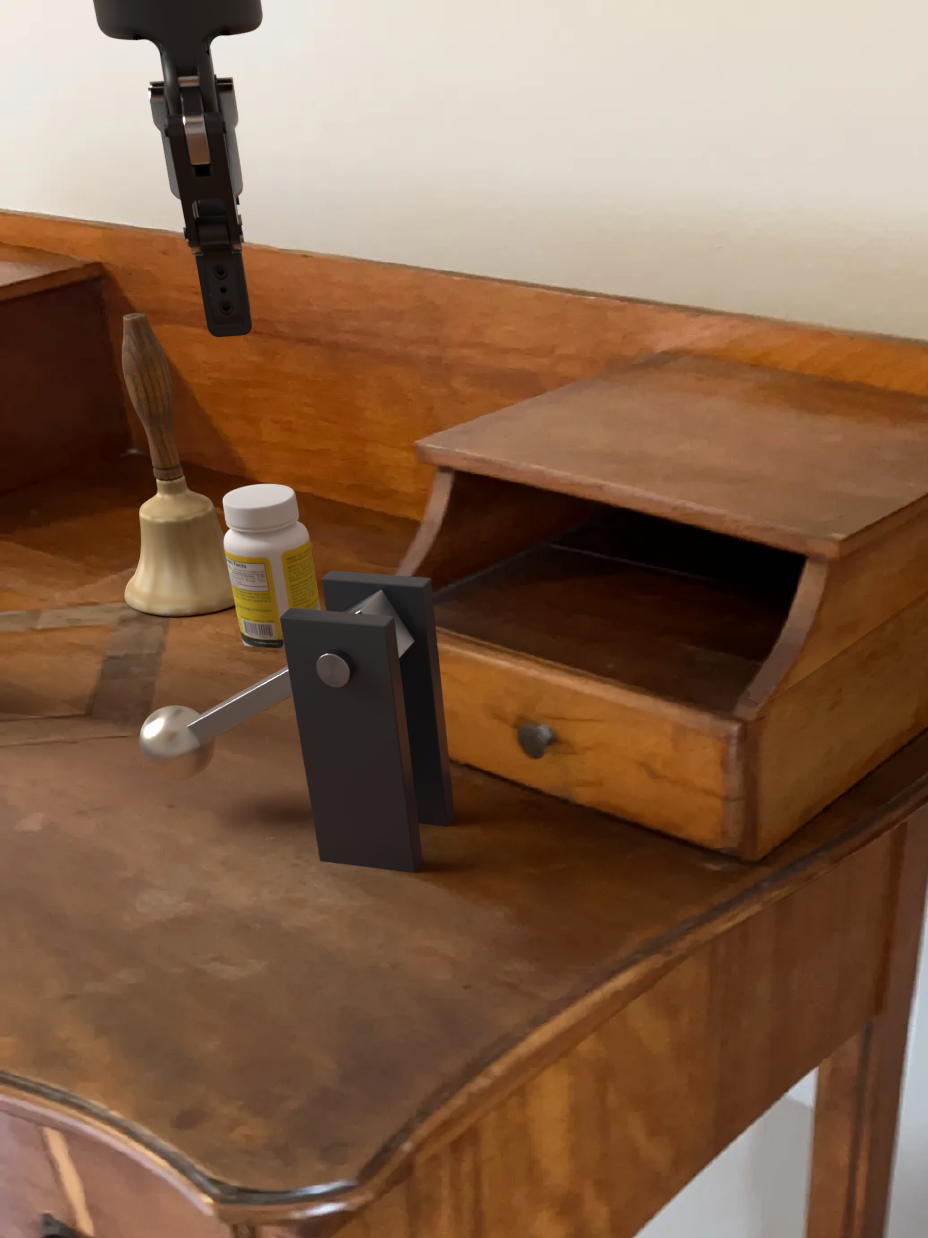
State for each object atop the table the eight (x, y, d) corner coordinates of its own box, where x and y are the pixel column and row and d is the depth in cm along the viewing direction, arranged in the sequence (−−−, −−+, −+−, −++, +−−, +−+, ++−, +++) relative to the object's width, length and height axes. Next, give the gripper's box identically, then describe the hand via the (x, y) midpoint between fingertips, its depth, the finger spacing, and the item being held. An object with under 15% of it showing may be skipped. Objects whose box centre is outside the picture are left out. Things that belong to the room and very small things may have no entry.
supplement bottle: (317, 620, 91) (296, 476, 86) (331, 650, 88) (309, 502, 83) (237, 632, 90) (210, 487, 85) (248, 663, 87) (220, 514, 82)
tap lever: (158, 803, 67) (111, 742, 66) (192, 769, 70) (147, 710, 68) (396, 677, 60) (349, 606, 59) (425, 644, 63) (380, 575, 61)
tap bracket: (273, 912, 66) (218, 628, 58) (345, 822, 72) (305, 553, 64) (447, 935, 64) (415, 645, 56) (506, 841, 70) (485, 567, 62)
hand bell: (247, 614, 92) (196, 329, 82) (110, 619, 92) (43, 334, 83) (269, 564, 99) (224, 294, 89) (142, 568, 99) (82, 299, 89)
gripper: (85, -94, 73) (159, 301, 84) (64, -87, 62) (152, 366, 73) (244, -100, 74) (297, 291, 85) (251, -94, 63) (311, 354, 74)
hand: (230, 324), depth 79 cm, fingers open, 3 cm apart
